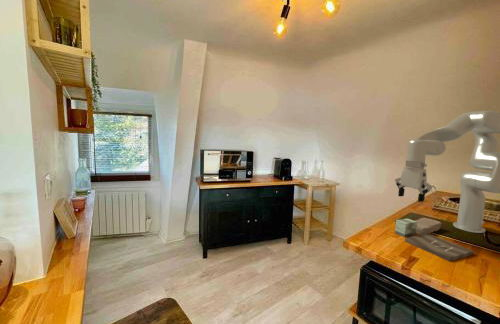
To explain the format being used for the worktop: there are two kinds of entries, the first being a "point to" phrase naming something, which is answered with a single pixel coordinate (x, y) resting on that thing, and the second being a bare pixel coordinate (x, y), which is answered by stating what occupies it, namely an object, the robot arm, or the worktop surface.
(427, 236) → the board
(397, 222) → the block
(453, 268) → the worktop surface
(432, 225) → the brick
